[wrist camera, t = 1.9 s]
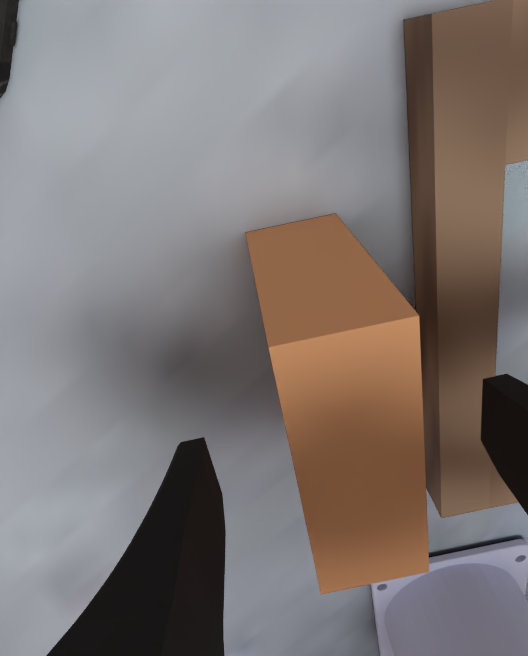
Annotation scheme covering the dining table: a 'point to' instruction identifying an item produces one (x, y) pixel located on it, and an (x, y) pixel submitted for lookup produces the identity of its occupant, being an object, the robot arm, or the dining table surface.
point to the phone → (7, 39)
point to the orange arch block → (346, 399)
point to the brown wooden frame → (462, 226)
